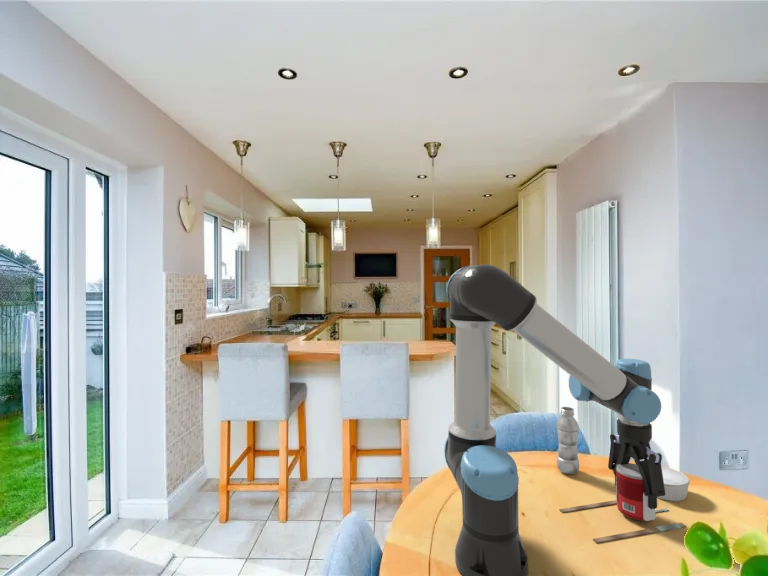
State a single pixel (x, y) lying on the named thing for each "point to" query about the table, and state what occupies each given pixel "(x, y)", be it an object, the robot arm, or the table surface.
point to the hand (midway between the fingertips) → (635, 509)
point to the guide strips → (628, 534)
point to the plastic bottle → (567, 442)
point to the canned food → (630, 491)
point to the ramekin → (674, 484)
